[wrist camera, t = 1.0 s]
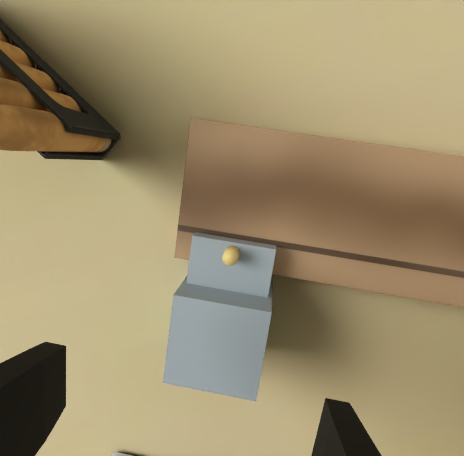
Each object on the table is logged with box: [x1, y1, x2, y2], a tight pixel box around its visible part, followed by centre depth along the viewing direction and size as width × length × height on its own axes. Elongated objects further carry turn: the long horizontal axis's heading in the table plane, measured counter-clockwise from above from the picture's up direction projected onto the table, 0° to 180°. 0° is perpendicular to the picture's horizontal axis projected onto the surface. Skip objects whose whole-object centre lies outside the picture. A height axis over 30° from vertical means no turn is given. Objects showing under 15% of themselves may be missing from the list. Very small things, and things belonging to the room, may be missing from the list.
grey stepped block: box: [163, 232, 276, 401], centre depth 20 cm, size 7×4×5 cm, turn 172°
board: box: [174, 118, 464, 307], centre depth 19 cm, size 7×20×2 cm, turn 82°
